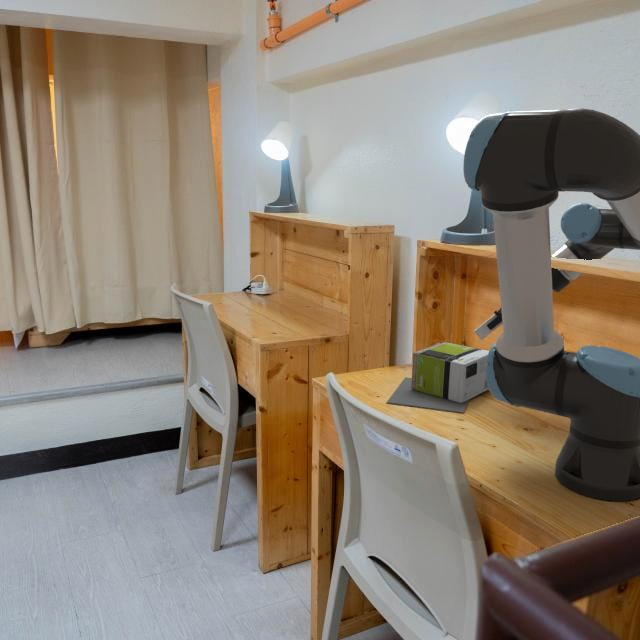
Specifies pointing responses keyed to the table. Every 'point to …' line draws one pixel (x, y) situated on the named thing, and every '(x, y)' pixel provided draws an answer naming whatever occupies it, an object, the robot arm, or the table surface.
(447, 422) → the table surface
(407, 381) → the desk pad
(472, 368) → the tea box
